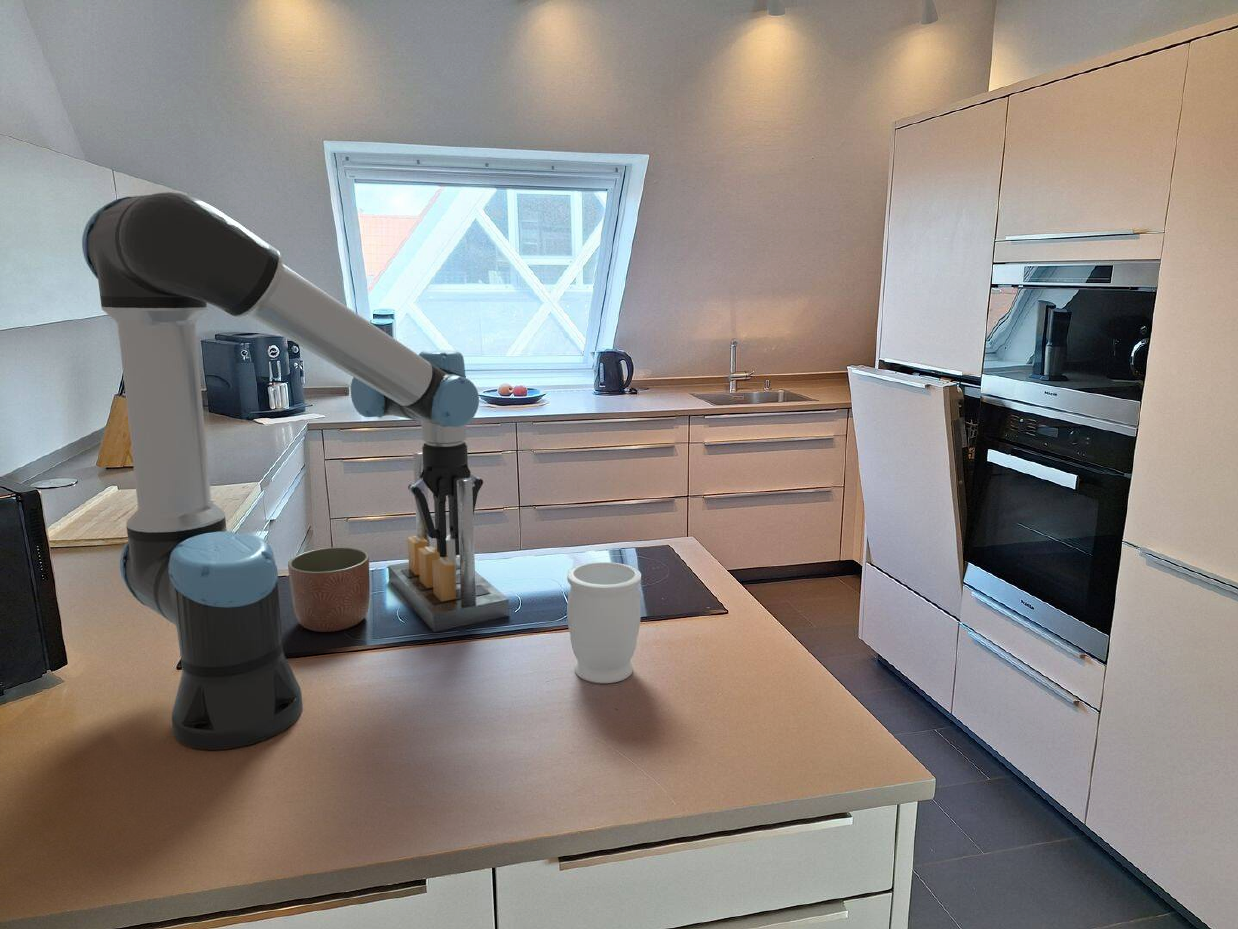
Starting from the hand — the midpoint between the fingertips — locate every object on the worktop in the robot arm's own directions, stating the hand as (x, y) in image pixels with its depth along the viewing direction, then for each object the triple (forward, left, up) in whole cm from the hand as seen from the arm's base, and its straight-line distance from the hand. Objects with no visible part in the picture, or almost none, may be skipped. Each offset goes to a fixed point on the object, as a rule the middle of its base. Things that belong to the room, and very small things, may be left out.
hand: (449, 572), depth 145 cm
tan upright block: (0, +4, -1) cm, 4 cm away
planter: (-1, +20, -5) cm, 21 cm away
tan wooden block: (+7, +3, -1) cm, 8 cm away
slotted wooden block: (-7, +3, -1) cm, 8 cm away
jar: (-38, -10, -5) cm, 39 cm away
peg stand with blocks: (0, +1, -5) cm, 5 cm away
